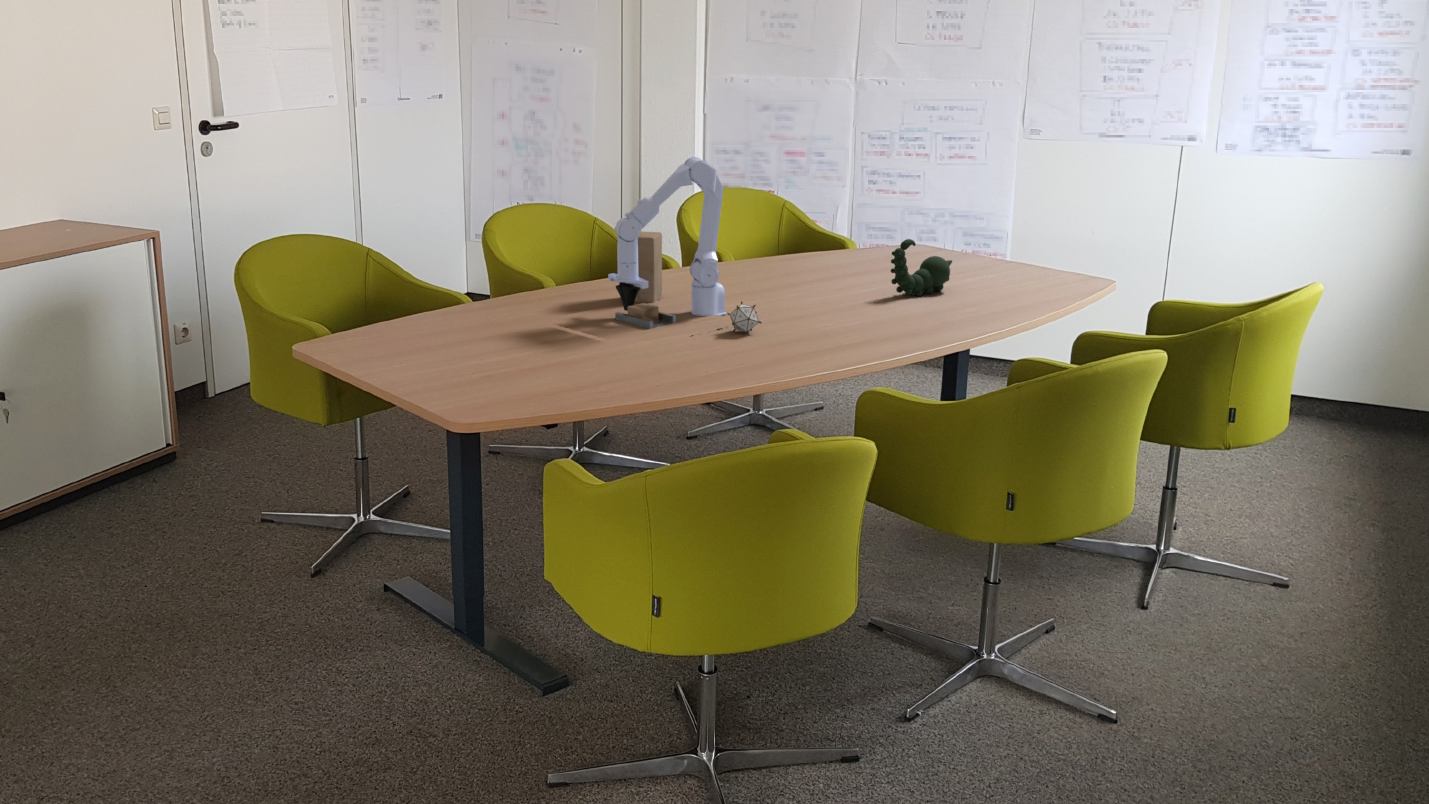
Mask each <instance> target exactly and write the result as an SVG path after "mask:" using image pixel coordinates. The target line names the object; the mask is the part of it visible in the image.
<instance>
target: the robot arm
mask: <svg viewBox="0 0 1429 804" xmlns="http://www.w3.org/2000/svg"><path fill="white" fill-rule="evenodd" d="M717 173H718V172H717V169H716V168H715V167H714V166H713V165H712V164H711V163H710V162H708V161H707V160H703V159H701V158H699V157H697V156H692V157H689V158H688V159H686V160H685V161H684V163H682V164H680V165H679V166H678V167H677V168H676V169H675V171H673V173H672V174H671V175H670V176H669V177H668V178H667V180H665V181H664V182H663V183H662V185H660V187H659V188H658V189H657V190H656V191H655V192H654V193H653V195H651V196H649V197H643V198H642V199H641V198H639V199H638V200H637V201H636V203H637V204H636V205H635V206H634V207H632V208H631V210H630V211H629V212H626V213H625V214H624V216H625V217H622V218H620V219H619V220H618V221H617V222H616V223H615V227H614V232H615V234H616V236H617V240H616V241H617V245H616V250H617V253H616V255H617V256H616V257H617V259H616V261H617V273H614V272H613V273H608V275H607V276H608V277H607V278H608V279H607V280H608V282H615V283H618V284H617V285H615V289H616V291H617V293H618V295H619V296H620V299H621V303H622V306H623V309H624V311H627V312H628V306H632V305H635V298H636V296H637V294H638V292H639V290H640V288H641V289H645V288H648V281H646V280H644V279H642V278H640V277H638V239H637V238H638V237H639V235H640V232H642V230H643V229H644V228H646V226H647V225H648V224H649V223H650V222H651V221H652V220H653V219H654V218H656V216H657V215H658V214H659V213H660V206H661V205H662V204H664V203H665V202H666V201H667V200H668V199H669V198H670V197H671V196H672V195H673V194H674V193H675V192H677V191H678V189H680V188H681V187H686V186H687V187H688V186H693V185H694V184H696V185H697V186H698V188H699V189H700V190H701V191H702V192H703V202H702V211H701V212H702V213H701V221H700V228H699V236H698V244H697V249H696V251H695V253H694V258H693V261H692V262H691V264H690V267H689V273H690V275H691V277H692V278H693V279H692V281H691V314H692V315H694V316H699V317H711V316H714V315H717V316H725V315H728V314H727V313H728V312H726V291H725V288H724V286H723V285H722V284H721V283H720V282H718V281H719V278H720V271H719V268H718V264H719V263H718V262H719V261H718V255H717V247H718V237H719V229H720V222H721V221H720V220H721V213H722V204H723V196H724V186H723V185H722V182H721V180H720V178H719V176H718V174H717Z"/></svg>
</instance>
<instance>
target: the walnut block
mask: <svg viewBox="0 0 1429 804" xmlns="http://www.w3.org/2000/svg"><path fill="white" fill-rule="evenodd" d="M658 311H659V306H658V305H654V304H653V305H652V304H649V303H648V304H647V303H646V302H641V303H638V304H634V305H632V306H628V311H627V314H628V315H632V316H636V317H640V318H644V319H648V320H652V321H653V322H655V321H658Z"/></svg>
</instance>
